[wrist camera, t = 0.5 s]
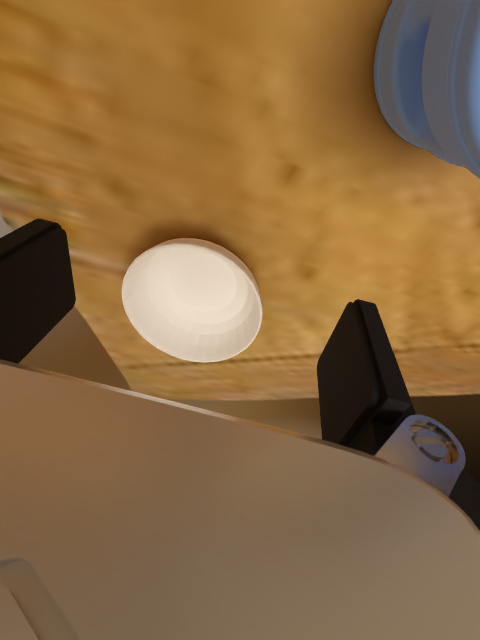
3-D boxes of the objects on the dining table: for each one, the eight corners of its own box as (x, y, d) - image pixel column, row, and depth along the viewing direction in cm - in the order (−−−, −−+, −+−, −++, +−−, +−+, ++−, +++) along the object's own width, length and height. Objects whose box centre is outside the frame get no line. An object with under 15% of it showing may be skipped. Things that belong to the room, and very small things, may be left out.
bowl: (117, 256, 45) (91, 281, 40) (223, 194, 38) (210, 214, 32) (189, 344, 54) (177, 375, 48) (287, 307, 47) (286, 339, 41)
